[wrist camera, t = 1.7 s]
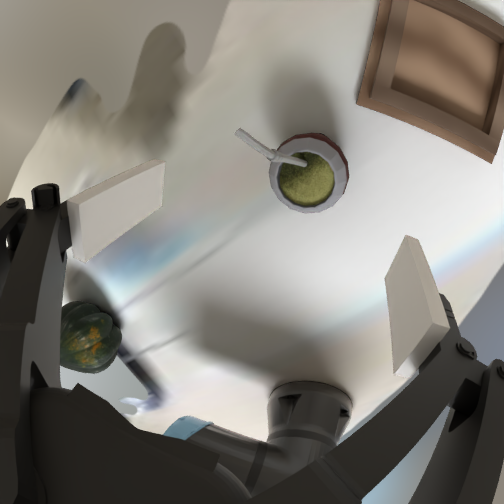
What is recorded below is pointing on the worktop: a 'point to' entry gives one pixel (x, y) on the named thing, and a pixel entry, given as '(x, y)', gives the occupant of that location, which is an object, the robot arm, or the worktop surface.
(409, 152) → the worktop surface
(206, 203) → the worktop surface
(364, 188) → the worktop surface
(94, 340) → the squash
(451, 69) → the holder board
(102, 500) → the robot arm
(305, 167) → the mate gourd
